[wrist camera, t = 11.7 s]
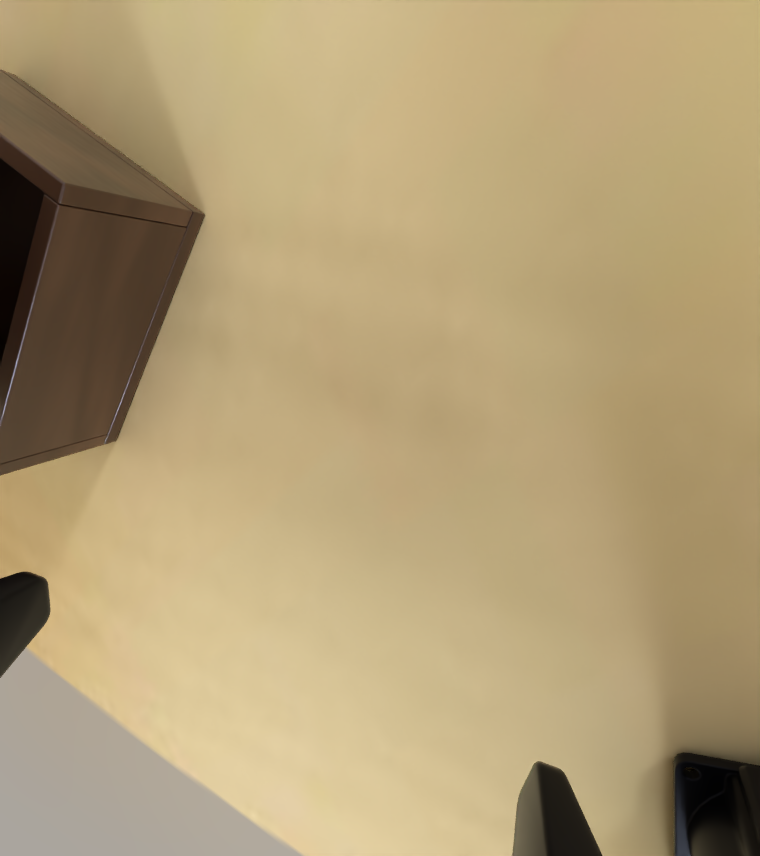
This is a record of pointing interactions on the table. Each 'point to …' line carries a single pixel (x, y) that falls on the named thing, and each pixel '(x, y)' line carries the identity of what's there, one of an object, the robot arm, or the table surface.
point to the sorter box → (76, 278)
